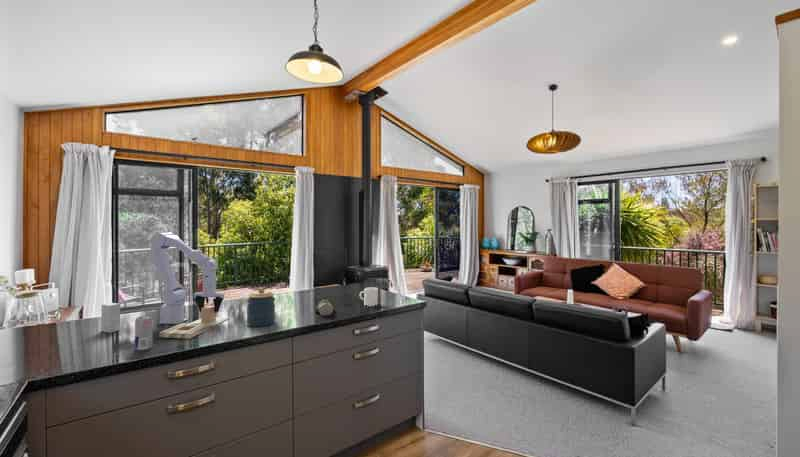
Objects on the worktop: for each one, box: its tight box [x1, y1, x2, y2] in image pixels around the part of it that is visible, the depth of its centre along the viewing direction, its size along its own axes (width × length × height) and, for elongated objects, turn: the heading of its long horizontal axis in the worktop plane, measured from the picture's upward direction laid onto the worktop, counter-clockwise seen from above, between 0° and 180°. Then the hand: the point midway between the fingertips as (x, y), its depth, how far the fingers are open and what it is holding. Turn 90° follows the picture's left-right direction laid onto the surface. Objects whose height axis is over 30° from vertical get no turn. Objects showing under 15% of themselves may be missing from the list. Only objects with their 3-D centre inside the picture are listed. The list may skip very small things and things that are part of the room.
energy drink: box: [134, 315, 153, 351], centre depth 132 cm, size 5×5×12 cm
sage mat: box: [191, 316, 230, 327], centre depth 167 cm, size 13×13×1 cm
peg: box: [200, 305, 217, 323], centre depth 166 cm, size 4×4×7 cm
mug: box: [358, 286, 379, 307], centre depth 204 cm, size 8×12×10 cm
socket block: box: [158, 322, 212, 340], centre depth 151 cm, size 14×14×2 cm
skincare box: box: [100, 302, 121, 333], centre depth 151 cm, size 6×4×12 cm
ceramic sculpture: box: [314, 298, 335, 317], centre depth 185 cm, size 11×9×15 cm
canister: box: [246, 287, 276, 328], centre depth 165 cm, size 13×13×18 cm
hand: (209, 311), depth 166 cm, fingers open, 7 cm apart
